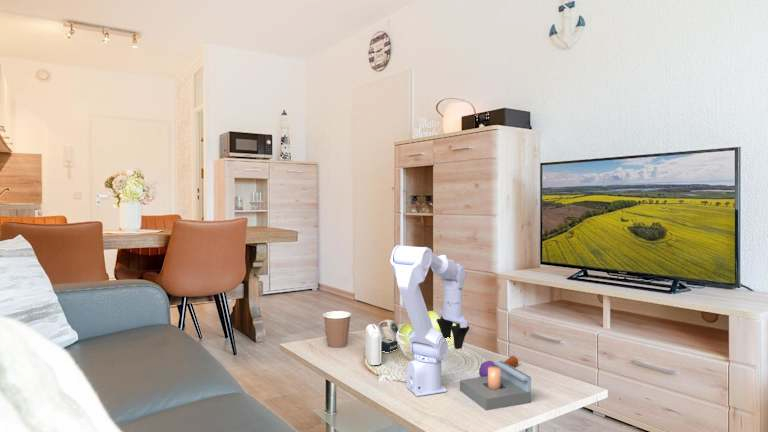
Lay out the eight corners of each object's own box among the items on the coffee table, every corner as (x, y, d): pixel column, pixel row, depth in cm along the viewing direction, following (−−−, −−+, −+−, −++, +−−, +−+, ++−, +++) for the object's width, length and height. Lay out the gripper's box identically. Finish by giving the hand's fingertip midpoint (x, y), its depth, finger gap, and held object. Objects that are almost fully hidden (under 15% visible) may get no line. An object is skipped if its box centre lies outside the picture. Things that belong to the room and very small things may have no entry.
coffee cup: (339, 340, 193) (339, 309, 192) (356, 346, 185) (356, 314, 184) (317, 346, 186) (317, 313, 185) (334, 352, 178) (334, 319, 178)
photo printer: (364, 356, 174) (364, 321, 173) (376, 356, 175) (376, 320, 174) (369, 367, 164) (369, 329, 163) (382, 366, 165) (382, 328, 164)
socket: (486, 410, 132) (486, 383, 131) (459, 390, 145) (459, 366, 144) (530, 402, 137) (531, 377, 136) (501, 384, 150) (501, 360, 149)
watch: (392, 354, 176) (393, 323, 176) (374, 350, 181) (374, 320, 180) (402, 350, 181) (402, 320, 180) (384, 346, 185) (384, 317, 185)
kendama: (524, 356, 164) (495, 367, 148) (519, 373, 164) (491, 386, 149) (507, 349, 167) (478, 359, 152) (503, 366, 168) (473, 378, 152)
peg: (492, 399, 138) (493, 371, 138) (485, 395, 141) (485, 367, 141) (502, 397, 140) (503, 369, 139) (495, 393, 143) (495, 365, 142)
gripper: (476, 305, 151) (475, 350, 151) (452, 296, 164) (452, 337, 165) (455, 307, 148) (454, 352, 149) (433, 297, 162) (433, 339, 162)
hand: (452, 344), depth 157 cm, fingers open, 7 cm apart
